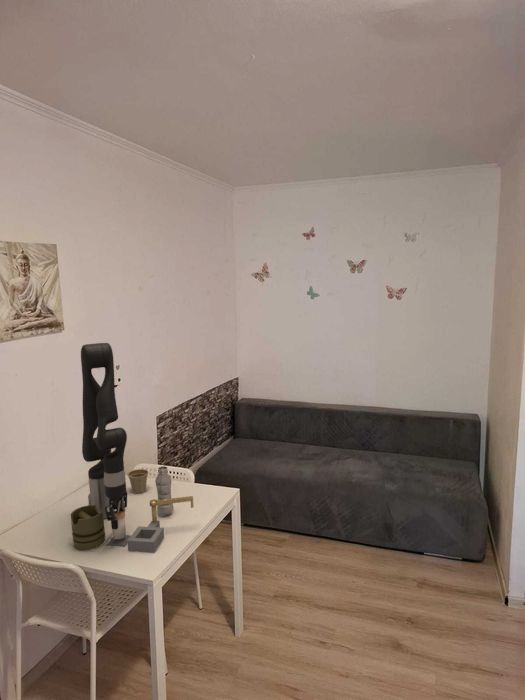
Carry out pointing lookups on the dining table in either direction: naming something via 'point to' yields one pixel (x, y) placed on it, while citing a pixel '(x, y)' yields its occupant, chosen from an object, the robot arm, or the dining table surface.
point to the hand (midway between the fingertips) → (118, 524)
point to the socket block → (147, 536)
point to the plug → (120, 526)
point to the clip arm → (172, 501)
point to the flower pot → (138, 480)
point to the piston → (87, 528)
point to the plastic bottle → (164, 491)
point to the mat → (118, 541)
